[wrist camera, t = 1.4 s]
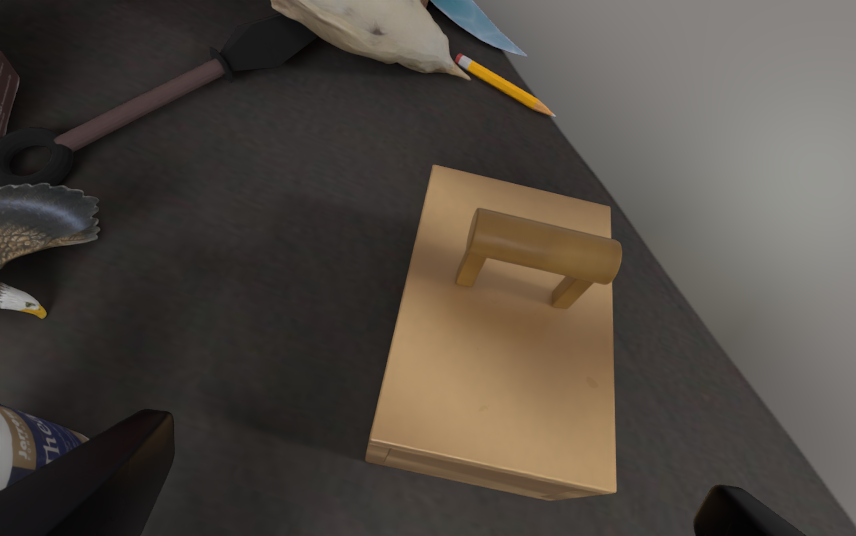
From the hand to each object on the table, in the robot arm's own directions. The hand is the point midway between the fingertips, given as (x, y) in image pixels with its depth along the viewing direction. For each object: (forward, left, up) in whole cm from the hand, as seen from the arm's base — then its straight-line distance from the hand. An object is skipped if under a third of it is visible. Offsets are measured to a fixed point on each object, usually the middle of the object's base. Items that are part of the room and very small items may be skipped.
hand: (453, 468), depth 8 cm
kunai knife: (+30, -13, -17) cm, 37 cm away
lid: (+4, -7, -9) cm, 12 cm away
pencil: (+20, -19, -14) cm, 31 cm away
